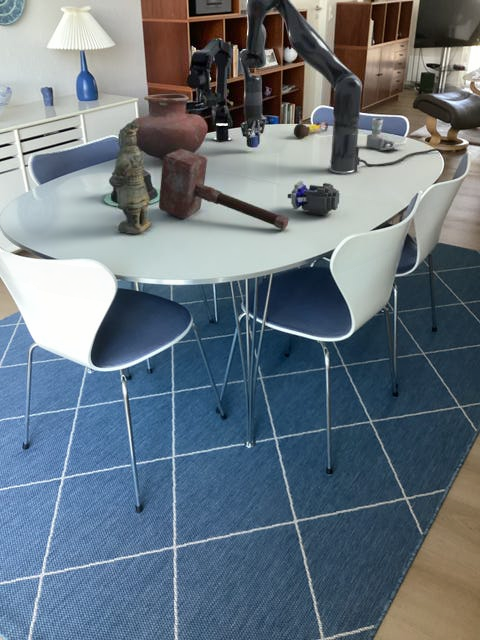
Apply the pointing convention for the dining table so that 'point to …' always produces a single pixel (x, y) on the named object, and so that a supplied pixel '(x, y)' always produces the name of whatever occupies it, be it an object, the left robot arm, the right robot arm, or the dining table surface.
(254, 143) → the canister
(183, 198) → the sledgehammer
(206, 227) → the dining table surface
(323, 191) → the toy
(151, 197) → the chocolate cake
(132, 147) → the statue
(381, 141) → the grey boot
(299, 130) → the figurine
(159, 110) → the clay pot
